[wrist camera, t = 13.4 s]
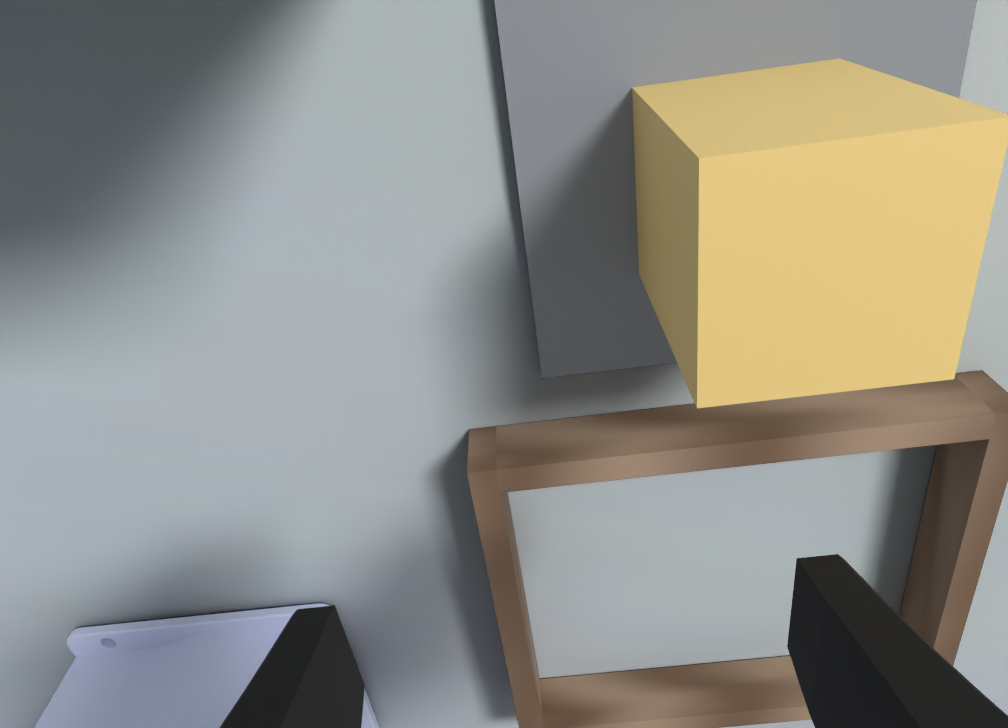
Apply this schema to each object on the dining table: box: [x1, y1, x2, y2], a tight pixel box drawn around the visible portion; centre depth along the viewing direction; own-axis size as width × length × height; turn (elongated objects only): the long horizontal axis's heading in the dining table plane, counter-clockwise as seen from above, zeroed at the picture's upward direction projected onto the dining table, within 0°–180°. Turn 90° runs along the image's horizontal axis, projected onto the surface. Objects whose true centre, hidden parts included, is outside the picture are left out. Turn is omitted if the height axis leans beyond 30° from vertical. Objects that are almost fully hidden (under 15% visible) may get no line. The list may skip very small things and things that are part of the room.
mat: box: [494, 0, 977, 379], centre depth 17 cm, size 10×10×1 cm
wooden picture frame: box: [467, 370, 1008, 728], centre depth 23 cm, size 15×13×2 cm
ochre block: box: [632, 59, 1008, 408], centre depth 14 cm, size 4×4×6 cm
